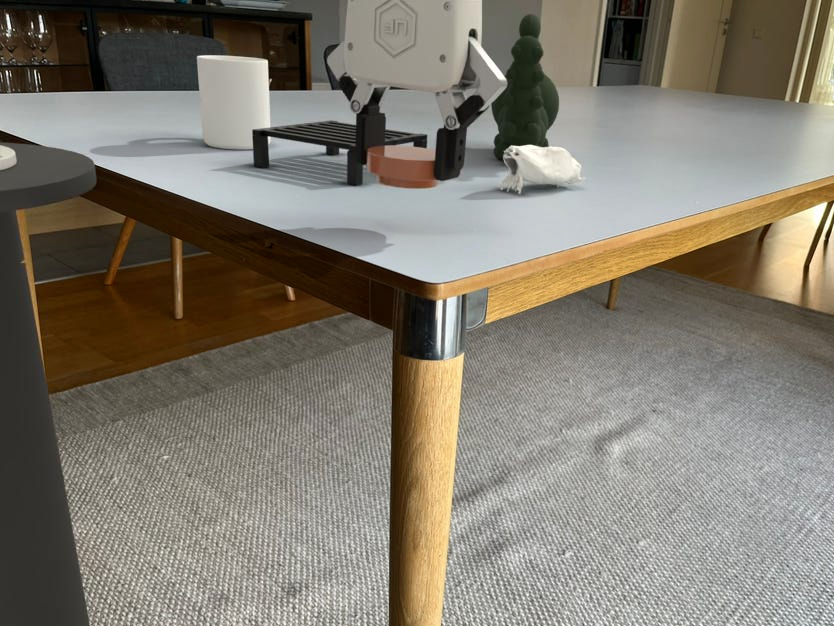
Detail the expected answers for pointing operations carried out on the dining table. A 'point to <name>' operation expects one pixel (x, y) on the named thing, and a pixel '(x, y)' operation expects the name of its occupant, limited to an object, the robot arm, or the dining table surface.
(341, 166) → the dining table surface
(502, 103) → the toy figurine
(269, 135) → the rack
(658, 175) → the dining table surface
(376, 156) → the terracotta round box
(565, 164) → the white lumpy oblong piece
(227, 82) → the mug
